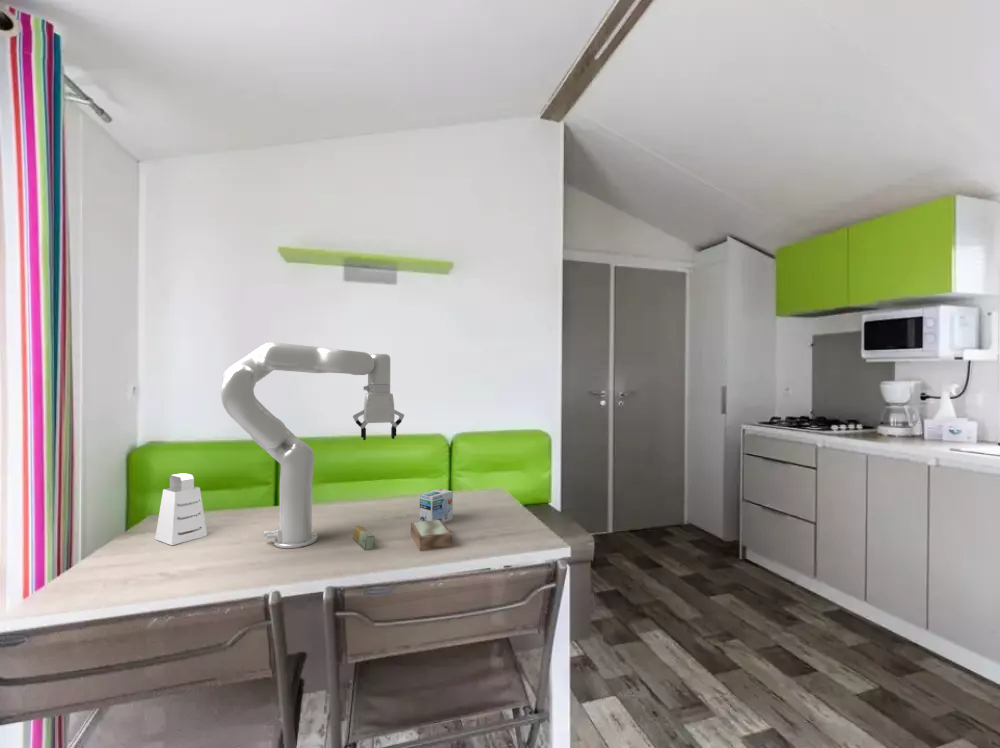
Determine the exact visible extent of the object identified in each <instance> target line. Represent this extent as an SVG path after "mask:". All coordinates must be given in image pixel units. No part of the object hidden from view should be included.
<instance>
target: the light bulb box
mask: <svg viewBox="0 0 1000 748" xmlns="http://www.w3.org/2000/svg"><path fill="white" fill-rule="evenodd" d="M453 493H454V492H453V491H452V490H448V489H443V488H437V489H434V490H430V491H427V492H422V493H419V522H425V521H434V520H441V521H442V522H443V523H446V522H449V521H451V520H453V502H454V500H453V499H454V498H453V497H454V495H453Z"/></svg>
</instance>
